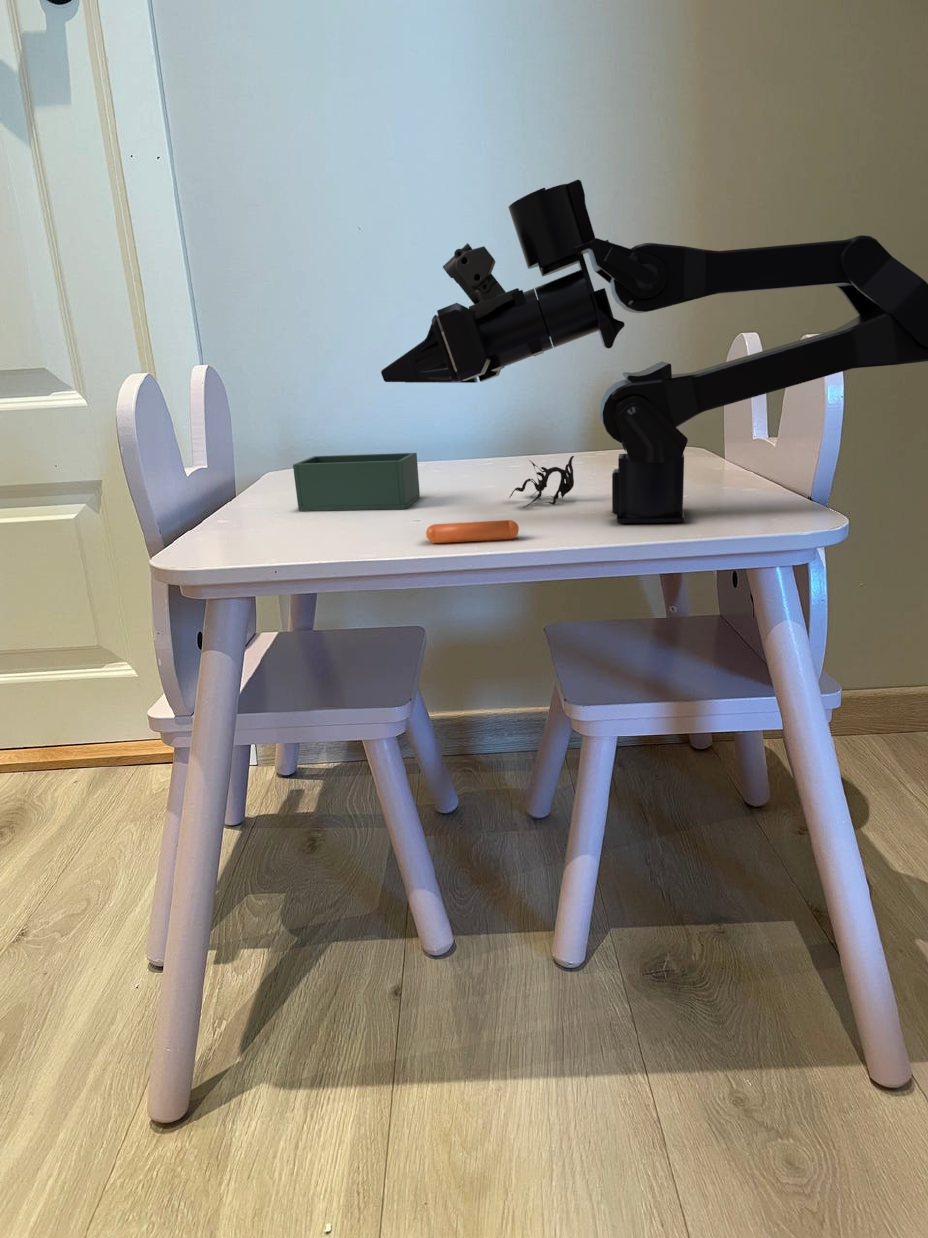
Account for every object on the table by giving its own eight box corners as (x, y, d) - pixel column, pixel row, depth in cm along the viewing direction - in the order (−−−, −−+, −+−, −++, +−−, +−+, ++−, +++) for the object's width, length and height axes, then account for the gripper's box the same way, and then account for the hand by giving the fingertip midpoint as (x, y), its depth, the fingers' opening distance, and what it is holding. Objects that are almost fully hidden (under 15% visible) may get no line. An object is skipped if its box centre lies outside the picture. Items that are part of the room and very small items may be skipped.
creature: (508, 519, 92) (578, 502, 90) (495, 472, 90) (566, 453, 88) (518, 505, 99) (583, 489, 97) (506, 461, 98) (572, 443, 95)
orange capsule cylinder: (518, 535, 79) (518, 517, 79) (519, 540, 78) (519, 522, 77) (427, 540, 80) (425, 522, 79) (426, 546, 78) (424, 527, 77)
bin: (420, 497, 101) (416, 452, 100) (405, 509, 95) (401, 461, 93) (318, 500, 104) (313, 456, 102) (298, 511, 98) (292, 464, 96)
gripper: (522, 248, 86) (384, 304, 89) (508, 211, 68) (336, 284, 71) (555, 354, 88) (420, 405, 91) (551, 345, 70) (383, 409, 73)
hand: (393, 377), depth 82 cm, fingers open, 9 cm apart
